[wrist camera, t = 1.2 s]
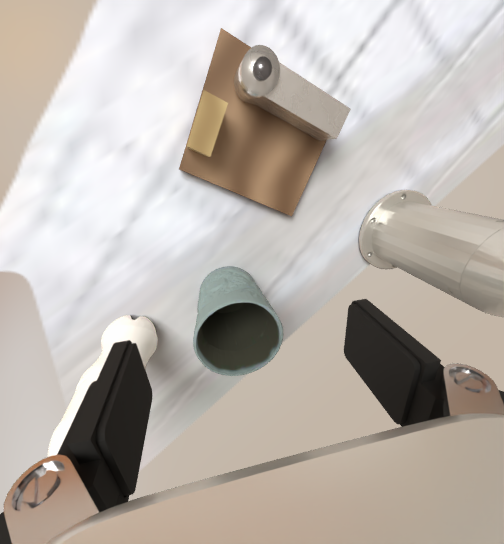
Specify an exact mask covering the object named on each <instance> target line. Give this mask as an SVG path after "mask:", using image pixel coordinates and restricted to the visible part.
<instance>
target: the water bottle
mask: <svg viewBox="0 0 504 544" xmlns="http://www.w3.org/2000/svg"><path fill="white" fill-rule="evenodd" d="M127 340H130V341H131V342H132V343H136V344H137V347H138V350H139V353H140V356H141V359H142V362H143V365H144V368H145V367H146V364H147V362H148V360H149V358H150V357H151V356H152V355H153V353H154V352H155V350H156V347H157V342H158V338H157V335H156V330H155V327H154V325H153V323H152V322H151V321H150V320H149V319H148V318H146V317H142V316H140V317H138V318H137V319H136V320H132V318H131V316H130V315H125V316H122V317H120V318H118V319H116V320H115V321H113V322H112V323H111V324H110V325H109V326H108V327H107V329H106V330H105V332H104V333H103V335H102V338H101V346H102V353H101V355H100V357H99V358H98V359H97V361H96V362H95V363H94V364H93V365H92V366H91V367H90V368H89V369H88V370H87V371H86V372H85V373H84V374H83V376H82V377H81V379H80V381H79V383H78V385H77V387H76V392H75V394H74V396H73V398H72V400H71V402H70V404H69V406H68V408H67V410H66V412H65V414H64V416H63V418H62V420H61V422H60V424H59V425H58V426H57V428H56V429H55V431H54V433H53V435H52V438H51V441H50V445H49V449H48V457H50V456H53V455H57V454H58V451H59V449H60V447H61V445H62V443H63V441H64V439H65V437H66V435H67V432H68V430H69V428H70V426H71V424H72V422H73V420H74V418H75V416H76V413H77V411H78V409H79V407H80V405H81V403H82V401H83V399H84V396H85V394H86V392H87V390H88V388H89V386H90V385H91V383H92V382H94V381H97V379H98V376H99V374H100V372H101V370H102V368H103V365H104V363H105V361H106V359H107V357H108V354H109V352H110V350H111V348H112V346H113V344H114V343H116V342H122V341H127Z"/></svg>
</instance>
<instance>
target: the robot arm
mask: <svg viewBox="0 0 504 544" xmlns="http://www.w3.org/2000/svg"><path fill="white" fill-rule="evenodd" d="M359 247H360V251H361V254H362V255H363V257H364V259H365V260H366V261H367V262H368V263H370V264H371V265H373V266H375V267H377V268H381V269H393V268H397V267H398V268H400V269H402V270H404V271H406V272H407V273H409V274H411V275H413V276H415V277H417V278H419V279H421V280H423V281H425V282H427V283H428V284H430V285H432V286H434V287H436V288H438V289H440V290H442V291H444V292H446V293H447V294H449V295H451V296H453V297H455V298H457V299H459V300H461V301H463V302H465V303H467V304H469V305H470V306H472V307H475V308H476V309H478V310H480V311H482V312H485V313H488V314H490V315H494V316H499V317H504V220H502V219H497V218H492V217H487V216H481V215H476V214H471V213H466V212H461V211H456V210H451V209H446V208H440V207H435V206H432V205H431V203H430V201H429V200H428V199H427V197H425V196H424V195H423V194H421V193H419V192H417V191H411V190H400V191H395V192H393V193H390V194H388V195H386V196H385V197H383V198H382V199H380V200H379V201H378V202H377V203H376V204H375V205H374V206H373V207H372V208H371V210H370V211H369V212H368V214H367V216H366V217H365V219H364V221H363V224H362V226H361V230H360V234H359ZM344 354H345V356H346V358H347V360H348V361H349V362H350V363H351V365H352V366H353V368H354V369H355V370H356V372H357V373H358V374H359V375H360V377H361V378H362V379H363V381H364V382H365V383H366V385H367V386H368V387H369V389H370V390H371V391H372V393H373V394H374V395H375V397H376V398H377V399H378V401H379V402H380V403H381V405H382V406H383V407H384V409H385V410H386V411H387V413H388V414H389V415H390V417H391V418H392V419H393V420H394V422H396V423H397V424H400V425H401V426H402V427H400V428H396V429H392V430H388V431H384V432H381V433H377V434H373V435H369V436H365V437H361V438H357V439H353V440H350V441H346V442H342V443H338V444H334V445H330V446H326V447H323V448H319V449H315V450H311V451H308V452H304V453H300V454H296V455H293V456H289V457H285V458H281V459H277V460H274V461H270V462H266V463H262V464H259V465H255V466H252V467H248V468H244V469H240V470H237V471H233V472H229V473H225V474H222V475H218V476H214V477H211V478H207V479H203V480H200V481H196V482H192V483H189V484H185V485H182V486H178V487H175V488H171V489H168V490H165V491H161V492H158V493H154V494H151V495H147V496H144V497H141V498H137V499H135V500H132V501H129V502H128V499H129V495H131V494H133V493H134V491H135V488H136V483H137V478H138V472H139V467H140V462H141V456H142V451H143V445H144V440H145V435H146V429H147V424H148V419H149V413H150V408H151V402H152V389H151V386H150V383H149V380H148V377H147V374H146V371H145V368H144V365H143V362H142V359H141V356H140V353H139V350H138V347H137V344H136V343H132V342H131V341H130V340H127V341H122V342H116V343H114V344H113V346H112V348H111V350H110V352H109V354H108V357H107V359H106V361H105V363H104V365H103V368H102V370H101V372H100V374H99V376H98V379H97V381H94V382H92V383H91V385H90V386H89V388H88V390H87V392H86V394H85V396H84V399H83V401H82V403H81V405H80V407H79V409H78V411H77V413H76V416H75V418H74V420H73V422H72V424H71V426H70V428H69V430H68V432H67V435H66V437H65V439H64V441H63V443H62V445H61V447H60V449H59V451H58V454H57V455H53V456H50V457H47V458H45V459H42V460H41V461H39V462H38V463H36V464H34V465H33V466H31V467H30V468H29V469H28V470H27V471H25V472H24V473H23V474H22V475H21V476H20V477H19V479H18V480H17V481H16V482H15V483H14V484H13V486H12V488H11V489H10V491H9V492H8V494H7V497H6V499H5V502H4V512H3V513H1V514H0V544H504V392H503V391H500V390H498V388H497V386H496V384H495V383H494V381H493V380H492V379H491V378H490V377H489V376H487V375H486V374H484V373H483V372H482V371H480V370H478V369H476V368H473V367H471V366H468V365H463V364H449V365H447V366H446V367H443V366H442V365H441V364H440V361H441V360H440V359H439V358H437V357H436V356H435V355H434V354H433V353H432V352H430V351H429V350H428V349H427V348H425V347H424V346H423V345H422V344H420V343H419V342H418V341H417V340H416V339H414V338H413V337H412V336H411V335H410V334H408V333H407V332H406V331H405V330H404V329H402V328H401V327H400V326H398V325H397V324H396V323H395V322H393V320H391V319H390V318H389V317H388V316H386V315H385V314H384V313H383V312H382V311H380V310H379V309H378V308H377V307H376V306H374V305H373V304H372V303H371V302H369V301H368V300H367V299H362V300H357V301H353V302H352V304H351V305H350V306H349V308H348V317H347V327H346V336H345V345H344Z"/></svg>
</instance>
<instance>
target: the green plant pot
mask: <svg viewBox="0 0 504 544" xmlns="http://www.w3.org/2000/svg"><path fill="white" fill-rule="evenodd" d="M282 340H283V327H282V324H281V321H280V320H279V318H278V316H277V314H276V313H275V311H274V310H273V308H272V307H271V306H270V304H269V302H268V301H267V299H266V298H265V296H264V295H263V294H262V292H261V290H260V289H259V288H258V286H257V285H256V283H255V282H254V280H253V278H252V277H251V276H250V274H248V273H247V272H246V271H244V270H242V269H240V268H237V267H222V268H219V269H216V270H214V271H213V272H211V273H210V274H209V275H208V276H207V277H206V278H205V279H204V281H203V283H202V285H201V288H200V293H199V301H198V315H197V320H196V326H195V332H194V339H193V345H194V350H195V353H196V355H197V357H198V359H199V360H200V361H201V362H202V364H203V365H204V366H205V367H207V368H208V369H210V370H211V371H213V372H215V373H218V374H222V375H228V376H238V375H244V374H248V373H251V372H254V371H256V370H258V369H260V368H261V367H263V366H265V365H266V364H267V363H268V362H270V361H271V360H272V359H273V358H274V356H275V355H276V354H277V352H278V351H279V349H280V346H281V344H282Z"/></svg>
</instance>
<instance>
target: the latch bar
mask: <svg viewBox="0 0 504 544" xmlns="http://www.w3.org/2000/svg"><path fill="white" fill-rule="evenodd" d="M234 87H235V91H236V93H237V95H238V97H239V98H240V99H241V100H242V101H244V102H245V103H248V104H255V105H257V106H259V107H260V108H262V109H264V110H266V111H268V112H269V113H271V114H273V115H275V116H276V117H278V118H280V119H282V120H283V121H285V122H287V123H289V124H291V125H292V126H294V127H296V128H298V129H299V130H301V131H303V132H305V133H307V134H308V135H310V136H312V137H314V138H315V139H317V140H319V141H323V140H331V139H337V137H338V135H339V133H340V131H341V128H342V126H343V124H344V122H345V120H346V118H347V116H348V114H349V111H350V108H348V107H347V106H345V105H344V104H342V103H341V102H339V101H338V100H336V99H335V98H333V97H332V96H330V95H328V94H327V93H325V92H324V91H322V90H321V89H319V88H318V87H316V86H315V85H313V84H312V83H310V82H309V81H307V80H305V79H304V78H302V77H301V76H299V75H298V74H296V73H295V72H293V71H292V70H290V69H289V68H287V67H286V66H284V65H282V64H281V63H279V61H278V58H277V56H276V55H275V53H274V52H273V51H272V50H271V49H270V48H268V47H266V46H263V45H257V46H254V47H252V48H251V49H249V50H248V51H247V53H246V54H245V56H244V58H243V60H242V62H241V64H240V66H239V68H238V69H237V71H236V74H235V77H234Z"/></svg>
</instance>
